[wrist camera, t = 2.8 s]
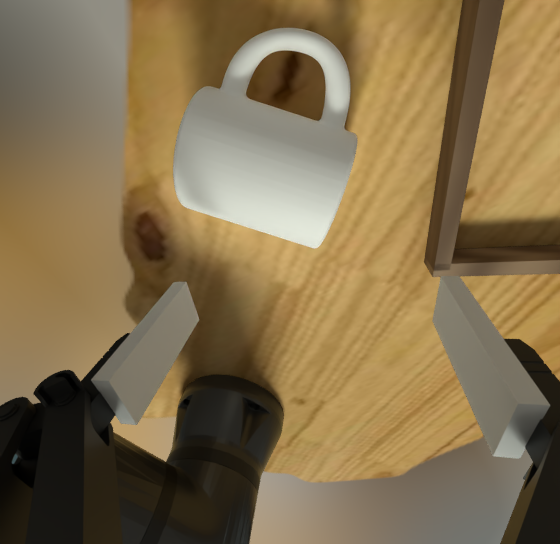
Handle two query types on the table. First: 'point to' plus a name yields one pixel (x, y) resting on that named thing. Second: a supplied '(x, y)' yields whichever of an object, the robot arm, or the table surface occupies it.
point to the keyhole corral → (458, 157)
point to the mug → (267, 147)
